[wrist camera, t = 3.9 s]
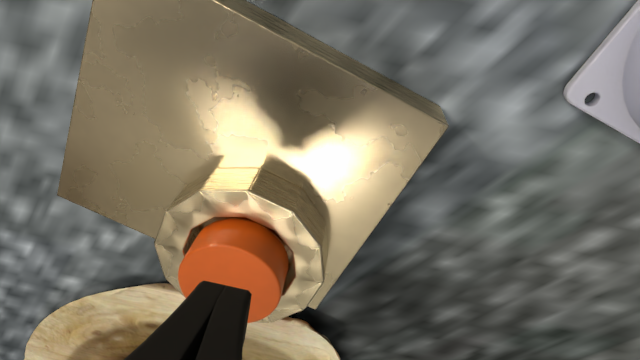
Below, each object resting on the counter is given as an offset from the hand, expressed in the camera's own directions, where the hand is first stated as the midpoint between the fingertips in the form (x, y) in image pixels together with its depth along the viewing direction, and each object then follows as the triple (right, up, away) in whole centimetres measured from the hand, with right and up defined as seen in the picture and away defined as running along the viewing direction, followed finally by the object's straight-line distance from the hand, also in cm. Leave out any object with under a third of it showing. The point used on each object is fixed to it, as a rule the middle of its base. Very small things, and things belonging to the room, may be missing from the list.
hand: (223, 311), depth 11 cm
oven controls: (-1, +5, +7) cm, 9 cm away
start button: (-1, 0, +6) cm, 6 cm away
